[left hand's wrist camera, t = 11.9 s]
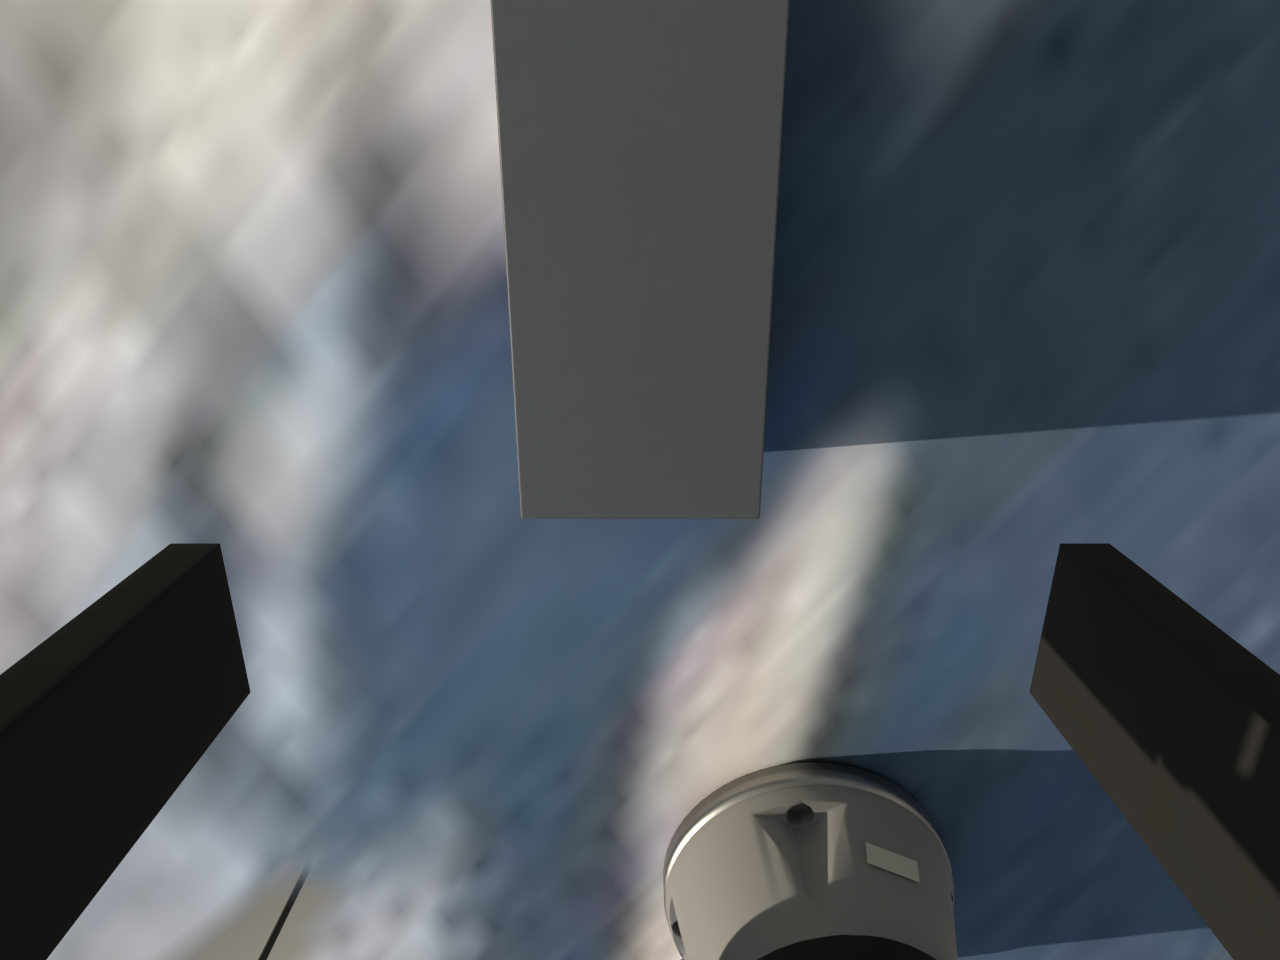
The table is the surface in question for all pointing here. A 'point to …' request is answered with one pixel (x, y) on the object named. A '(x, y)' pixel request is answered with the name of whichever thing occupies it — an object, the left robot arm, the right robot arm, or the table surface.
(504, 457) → the table surface
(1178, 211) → the table surface
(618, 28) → the wide beam
